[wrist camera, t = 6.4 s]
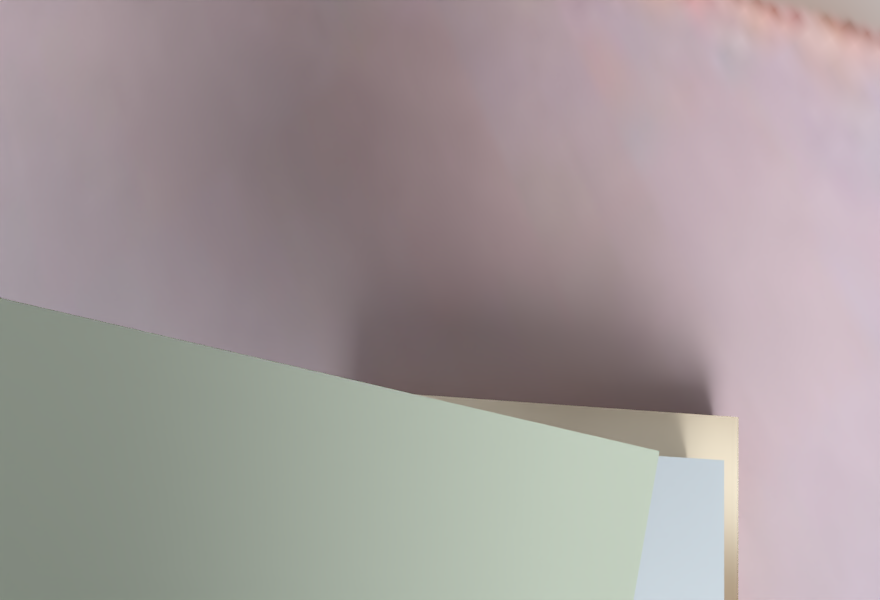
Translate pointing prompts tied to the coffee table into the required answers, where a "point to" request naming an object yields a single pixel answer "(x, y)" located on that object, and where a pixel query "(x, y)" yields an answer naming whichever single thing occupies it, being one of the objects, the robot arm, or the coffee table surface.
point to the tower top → (684, 532)
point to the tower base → (648, 446)
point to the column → (287, 482)
